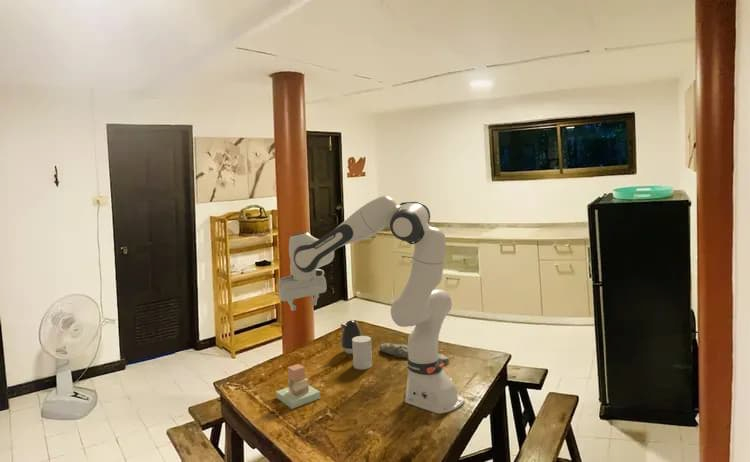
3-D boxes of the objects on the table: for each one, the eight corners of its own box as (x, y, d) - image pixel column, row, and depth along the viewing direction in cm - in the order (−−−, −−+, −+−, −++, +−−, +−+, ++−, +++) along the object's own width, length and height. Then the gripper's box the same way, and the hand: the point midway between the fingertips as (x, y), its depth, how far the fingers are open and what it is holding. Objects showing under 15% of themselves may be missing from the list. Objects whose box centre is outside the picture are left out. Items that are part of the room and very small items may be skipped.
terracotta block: (305, 378, 181) (304, 367, 181) (294, 382, 178) (293, 370, 178) (299, 375, 185) (298, 363, 184) (288, 378, 182) (287, 367, 181)
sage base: (320, 398, 181) (319, 391, 181) (291, 408, 174) (291, 402, 174) (303, 387, 191) (303, 381, 190) (276, 397, 183) (275, 391, 183)
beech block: (308, 392, 181) (308, 379, 181) (295, 396, 178) (295, 383, 177) (301, 387, 185) (300, 374, 185) (288, 391, 182) (287, 379, 181)
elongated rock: (442, 371, 204) (452, 364, 212) (442, 359, 203) (453, 353, 211) (374, 352, 224) (386, 346, 232) (374, 341, 223) (386, 336, 231)
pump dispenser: (337, 351, 228) (336, 319, 226) (357, 346, 233) (355, 316, 231) (346, 358, 219) (345, 325, 217) (367, 353, 224) (365, 321, 222)
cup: (371, 369, 206) (370, 342, 204) (352, 369, 206) (351, 342, 205) (372, 361, 214) (371, 335, 212) (354, 362, 214) (352, 336, 213)
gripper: (281, 279, 181) (284, 314, 183) (327, 270, 194) (329, 303, 195) (274, 276, 186) (276, 311, 188) (319, 268, 199) (321, 301, 200)
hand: (303, 307), depth 192 cm, fingers open, 8 cm apart
